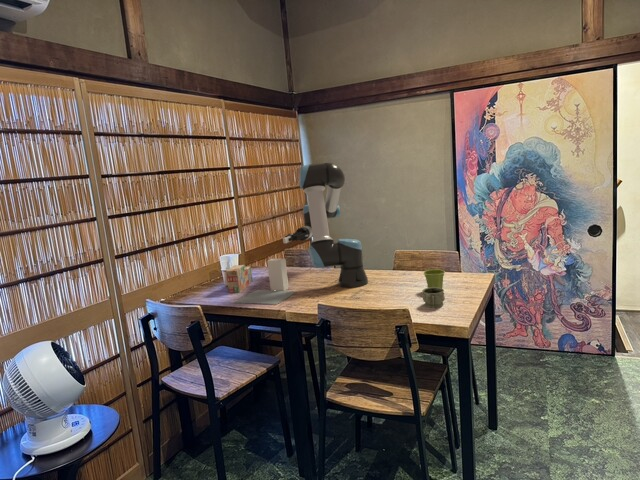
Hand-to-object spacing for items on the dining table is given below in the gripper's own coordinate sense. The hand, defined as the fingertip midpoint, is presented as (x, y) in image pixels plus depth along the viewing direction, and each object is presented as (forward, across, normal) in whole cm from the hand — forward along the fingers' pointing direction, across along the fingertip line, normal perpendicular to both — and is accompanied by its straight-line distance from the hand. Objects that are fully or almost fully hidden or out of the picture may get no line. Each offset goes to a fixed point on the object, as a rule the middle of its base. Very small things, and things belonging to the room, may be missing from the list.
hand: (284, 240), depth 231 cm
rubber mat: (+24, 0, -24) cm, 34 cm away
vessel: (+24, -82, -24) cm, 89 cm away
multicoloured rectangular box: (+8, +26, -24) cm, 37 cm away
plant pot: (+4, -79, -24) cm, 83 cm away
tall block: (+10, 0, -24) cm, 26 cm away
